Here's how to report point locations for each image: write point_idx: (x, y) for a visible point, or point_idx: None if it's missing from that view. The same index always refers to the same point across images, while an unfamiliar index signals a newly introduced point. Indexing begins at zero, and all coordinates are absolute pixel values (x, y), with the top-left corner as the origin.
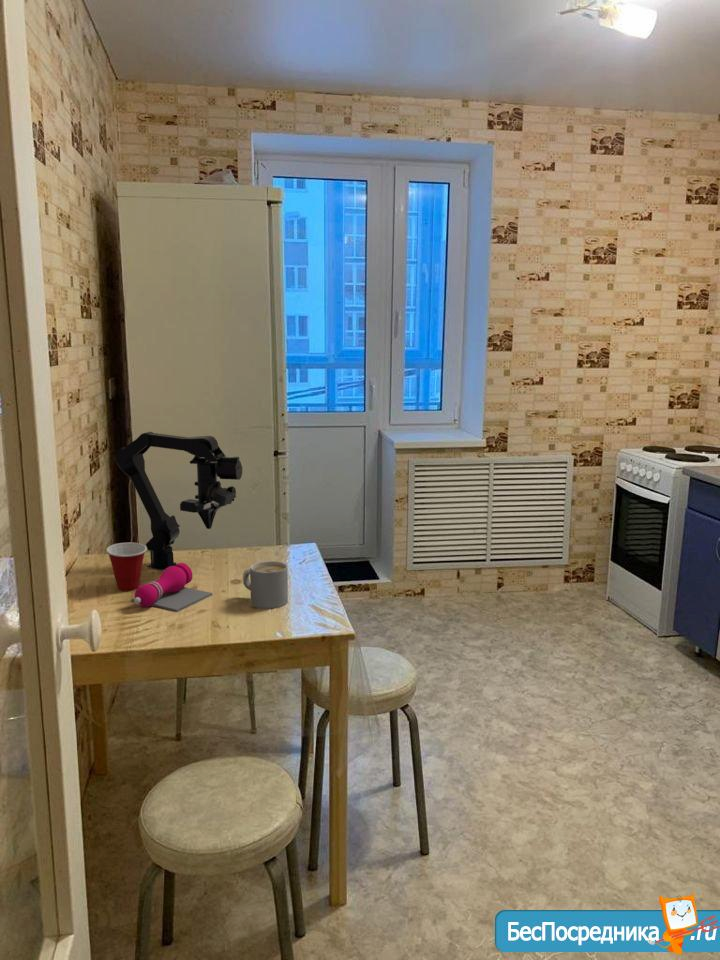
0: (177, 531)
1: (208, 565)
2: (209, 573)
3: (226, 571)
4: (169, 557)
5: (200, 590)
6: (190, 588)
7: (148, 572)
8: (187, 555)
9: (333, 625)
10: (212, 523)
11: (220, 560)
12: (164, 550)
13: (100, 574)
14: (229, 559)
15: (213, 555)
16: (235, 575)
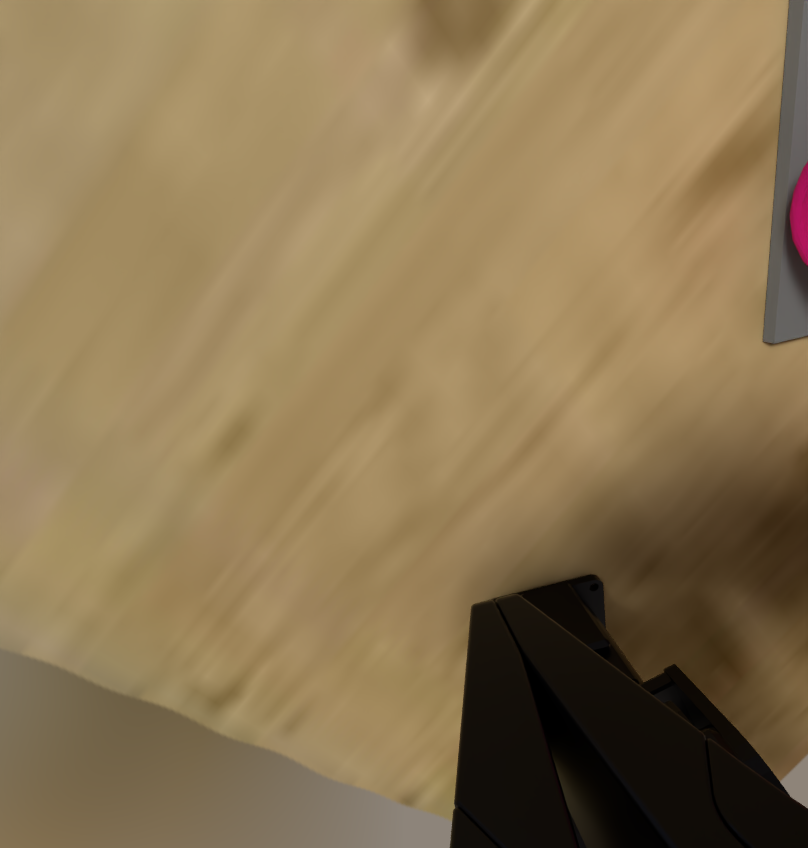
0: (578, 831)
1: (361, 477)
2: (463, 339)
3: (354, 281)
4: (577, 625)
5: (801, 27)
6: (795, 136)
7: (651, 593)
8: (333, 694)
9: None
10: (466, 669)
11: (237, 506)
12: (634, 675)
13: (774, 693)
14: (174, 483)
15: (213, 612)
16: (366, 141)
